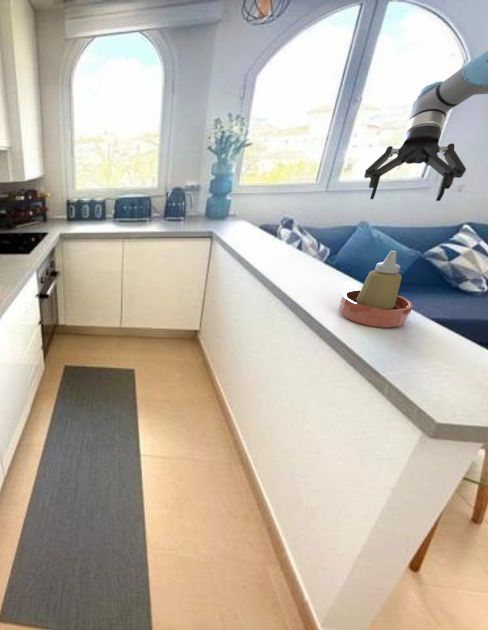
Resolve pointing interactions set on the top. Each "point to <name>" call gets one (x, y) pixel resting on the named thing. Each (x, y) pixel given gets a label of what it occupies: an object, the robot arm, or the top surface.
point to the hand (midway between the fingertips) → (404, 197)
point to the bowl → (374, 311)
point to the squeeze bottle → (381, 284)
